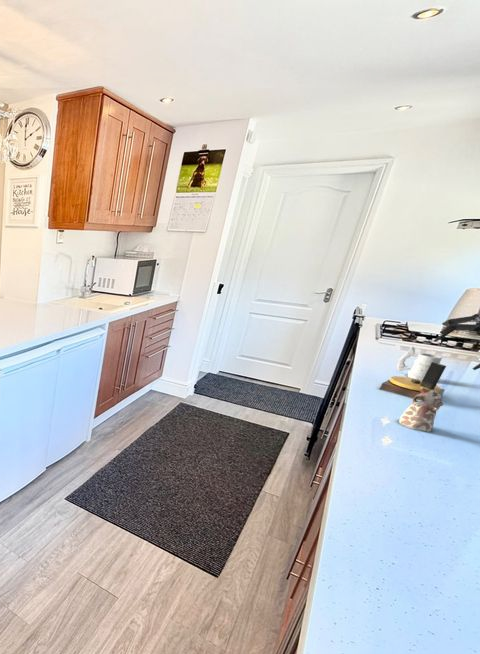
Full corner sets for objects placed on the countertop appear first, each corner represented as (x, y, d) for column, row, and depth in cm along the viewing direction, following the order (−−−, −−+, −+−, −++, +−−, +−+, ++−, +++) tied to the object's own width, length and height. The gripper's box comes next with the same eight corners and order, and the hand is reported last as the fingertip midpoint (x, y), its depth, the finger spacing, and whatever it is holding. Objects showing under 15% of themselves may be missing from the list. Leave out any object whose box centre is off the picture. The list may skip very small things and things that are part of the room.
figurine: (424, 433, 119) (444, 396, 115) (393, 422, 125) (411, 387, 120) (435, 429, 122) (455, 393, 117) (404, 418, 128) (422, 384, 123)
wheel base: (441, 396, 148) (445, 389, 147) (431, 403, 141) (435, 396, 140) (390, 383, 159) (393, 377, 158) (379, 389, 152) (382, 383, 151)
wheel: (443, 388, 147) (457, 362, 143) (434, 395, 141) (448, 368, 137) (395, 377, 157) (407, 352, 153) (384, 382, 151) (397, 357, 147)
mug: (431, 383, 161) (446, 354, 157) (391, 374, 170) (404, 347, 165) (433, 379, 166) (448, 351, 161) (394, 370, 174) (406, 344, 169)
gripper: (529, 351, 139) (483, 384, 138) (457, 303, 149) (413, 333, 148) (555, 341, 132) (506, 375, 131) (477, 291, 142) (431, 322, 141)
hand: (457, 353), depth 139 cm, fingers open, 13 cm apart
